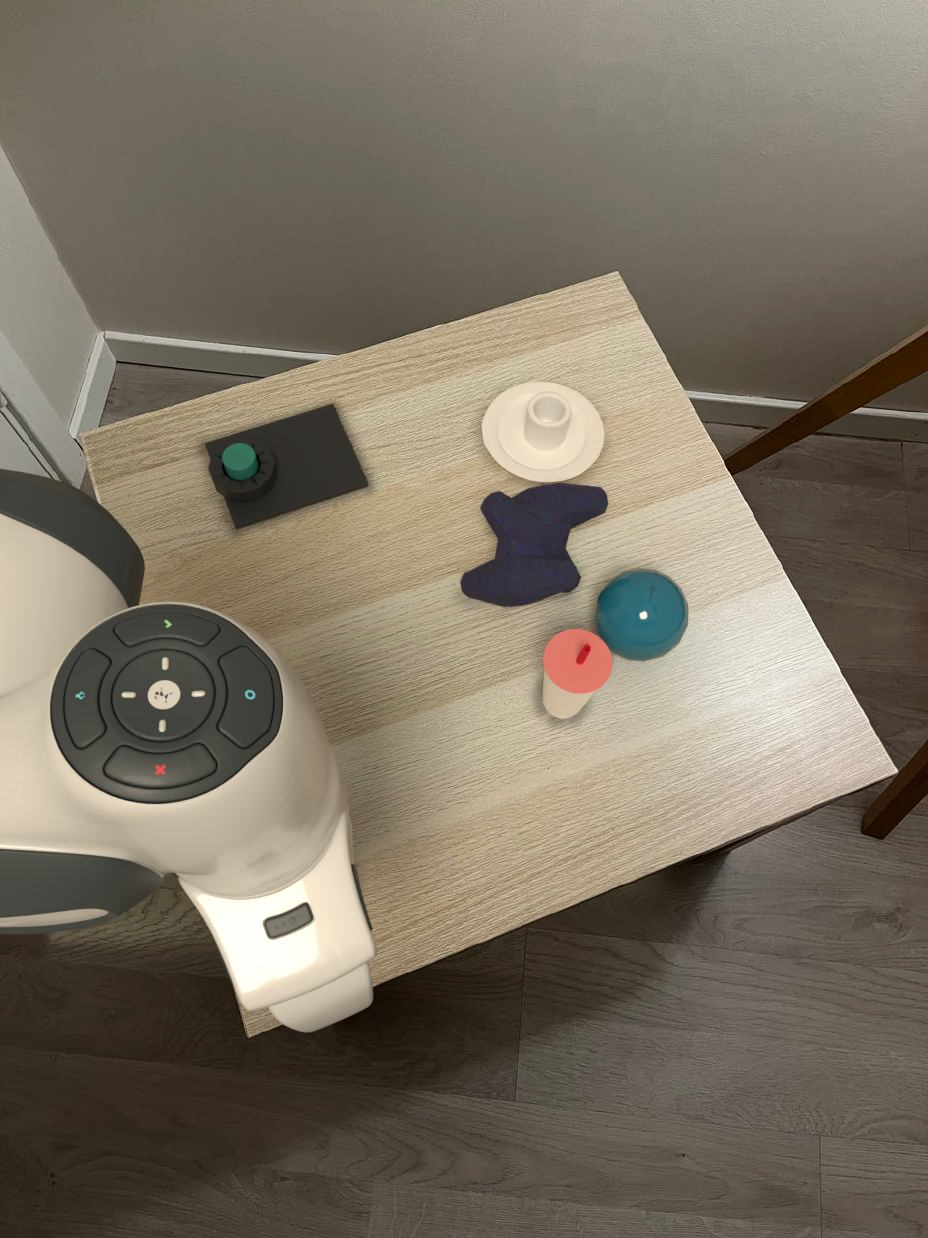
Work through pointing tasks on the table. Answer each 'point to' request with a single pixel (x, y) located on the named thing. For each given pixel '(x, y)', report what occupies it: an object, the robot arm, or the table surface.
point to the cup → (573, 671)
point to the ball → (641, 614)
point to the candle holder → (543, 431)
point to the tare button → (240, 461)
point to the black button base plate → (288, 466)
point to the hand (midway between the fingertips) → (295, 857)
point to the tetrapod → (532, 543)
